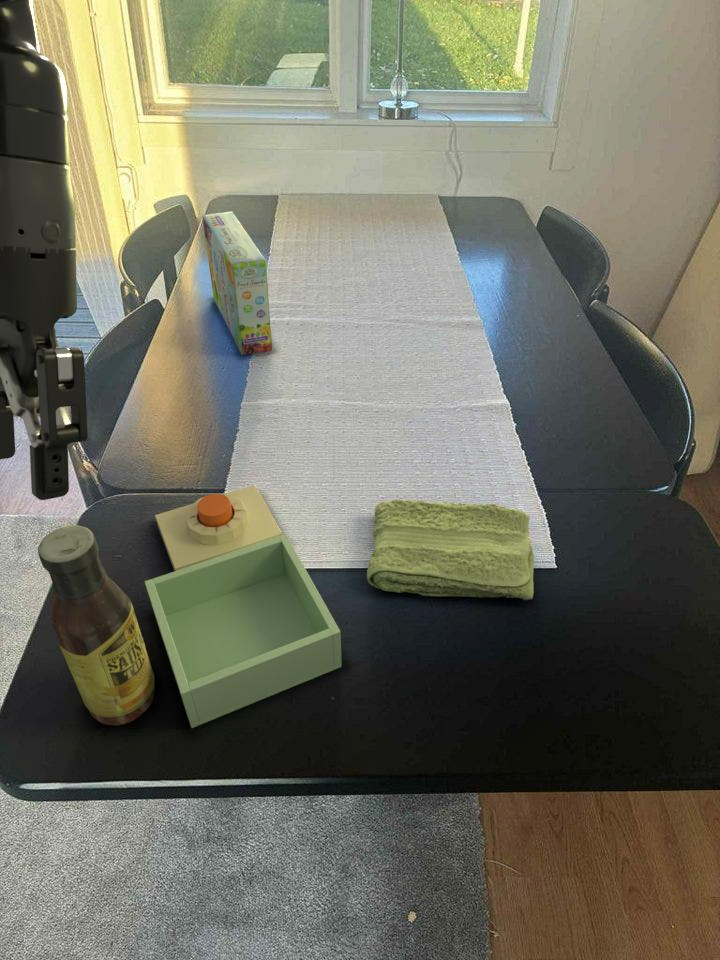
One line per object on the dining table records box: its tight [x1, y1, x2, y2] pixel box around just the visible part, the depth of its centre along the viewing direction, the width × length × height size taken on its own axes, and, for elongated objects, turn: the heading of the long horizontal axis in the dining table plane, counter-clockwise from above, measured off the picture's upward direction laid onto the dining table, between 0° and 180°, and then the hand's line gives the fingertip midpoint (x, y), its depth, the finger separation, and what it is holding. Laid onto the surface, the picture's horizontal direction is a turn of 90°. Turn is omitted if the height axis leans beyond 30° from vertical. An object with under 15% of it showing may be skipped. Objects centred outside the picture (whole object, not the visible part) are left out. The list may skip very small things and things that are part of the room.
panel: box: [154, 484, 283, 572], centre depth 78 cm, size 12×9×4 cm
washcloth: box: [366, 499, 535, 601], centre depth 76 cm, size 13×18×3 cm
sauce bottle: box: [37, 524, 156, 726], centre depth 58 cm, size 7×6×20 cm
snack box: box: [201, 210, 273, 356], centre depth 112 cm, size 21×6×15 cm, turn 22°
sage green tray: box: [144, 533, 343, 729], centre depth 67 cm, size 15×14×6 cm
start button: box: [197, 493, 232, 527], centre depth 77 cm, size 4×4×2 cm
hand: (23, 476), depth 50 cm, fingers open, 8 cm apart
